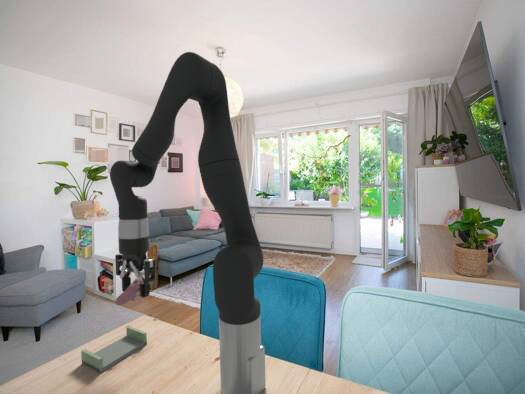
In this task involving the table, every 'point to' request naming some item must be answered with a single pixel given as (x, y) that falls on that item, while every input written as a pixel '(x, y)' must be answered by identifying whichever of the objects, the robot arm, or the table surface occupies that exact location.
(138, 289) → the video game controller
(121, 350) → the tray
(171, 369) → the table surface
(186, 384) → the table surface
